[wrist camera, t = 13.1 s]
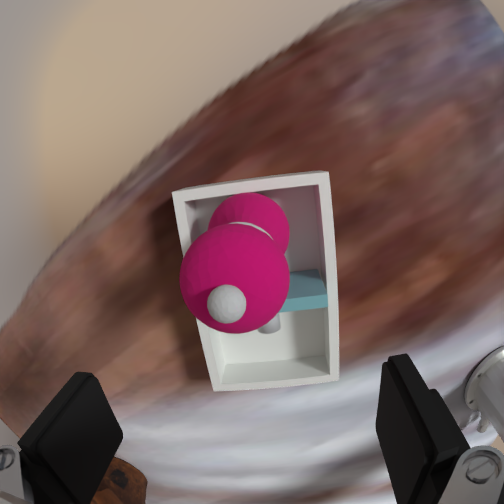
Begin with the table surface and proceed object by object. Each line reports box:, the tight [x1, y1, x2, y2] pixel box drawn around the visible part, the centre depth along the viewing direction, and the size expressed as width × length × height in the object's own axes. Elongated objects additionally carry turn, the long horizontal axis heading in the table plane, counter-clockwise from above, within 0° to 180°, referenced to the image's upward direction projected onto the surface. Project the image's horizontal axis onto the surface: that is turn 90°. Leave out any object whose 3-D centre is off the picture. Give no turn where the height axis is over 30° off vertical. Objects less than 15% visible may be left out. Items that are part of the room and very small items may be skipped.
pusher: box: [257, 269, 328, 334], centre depth 32 cm, size 5×11×7 cm, turn 98°
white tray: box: [172, 171, 339, 391], centre depth 33 cm, size 22×14×5 cm, turn 8°
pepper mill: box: [179, 192, 290, 334], centre depth 23 cm, size 7×7×20 cm
